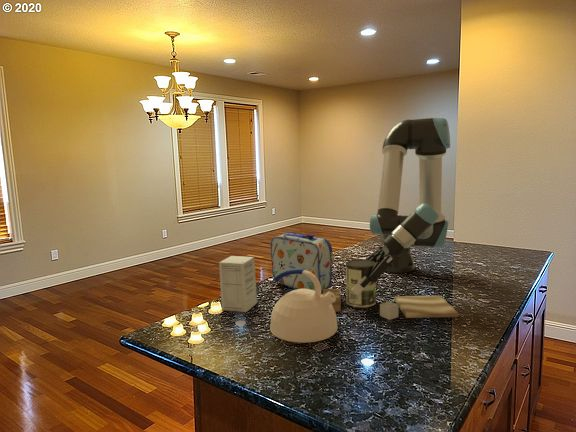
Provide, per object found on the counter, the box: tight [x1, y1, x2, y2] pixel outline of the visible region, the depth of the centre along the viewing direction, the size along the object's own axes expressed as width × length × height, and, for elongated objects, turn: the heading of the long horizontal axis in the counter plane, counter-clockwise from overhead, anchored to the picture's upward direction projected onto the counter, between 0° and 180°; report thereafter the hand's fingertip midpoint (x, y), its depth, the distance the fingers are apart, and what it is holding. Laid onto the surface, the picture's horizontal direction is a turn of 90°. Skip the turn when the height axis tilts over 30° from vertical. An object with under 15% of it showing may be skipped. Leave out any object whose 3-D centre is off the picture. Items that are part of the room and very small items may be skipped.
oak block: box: [322, 288, 342, 299], centre depth 142 cm, size 5×6×4 cm
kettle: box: [269, 269, 339, 344], centre depth 120 cm, size 20×21×18 cm
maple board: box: [394, 295, 459, 319], centre depth 134 cm, size 16×16×1 cm
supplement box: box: [218, 255, 258, 313], centre depth 139 cm, size 10×9×17 cm
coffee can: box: [345, 258, 377, 308], centre depth 140 cm, size 10×10×14 cm
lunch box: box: [270, 231, 336, 291], centre depth 156 cm, size 28×10×22 cm, turn 47°
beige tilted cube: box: [379, 300, 400, 321], centre depth 128 cm, size 4×4×4 cm
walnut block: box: [321, 292, 342, 313], centre depth 135 cm, size 5×5×5 cm
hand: (352, 287), depth 140 cm, fingers closed on coffee can, 10 cm apart
